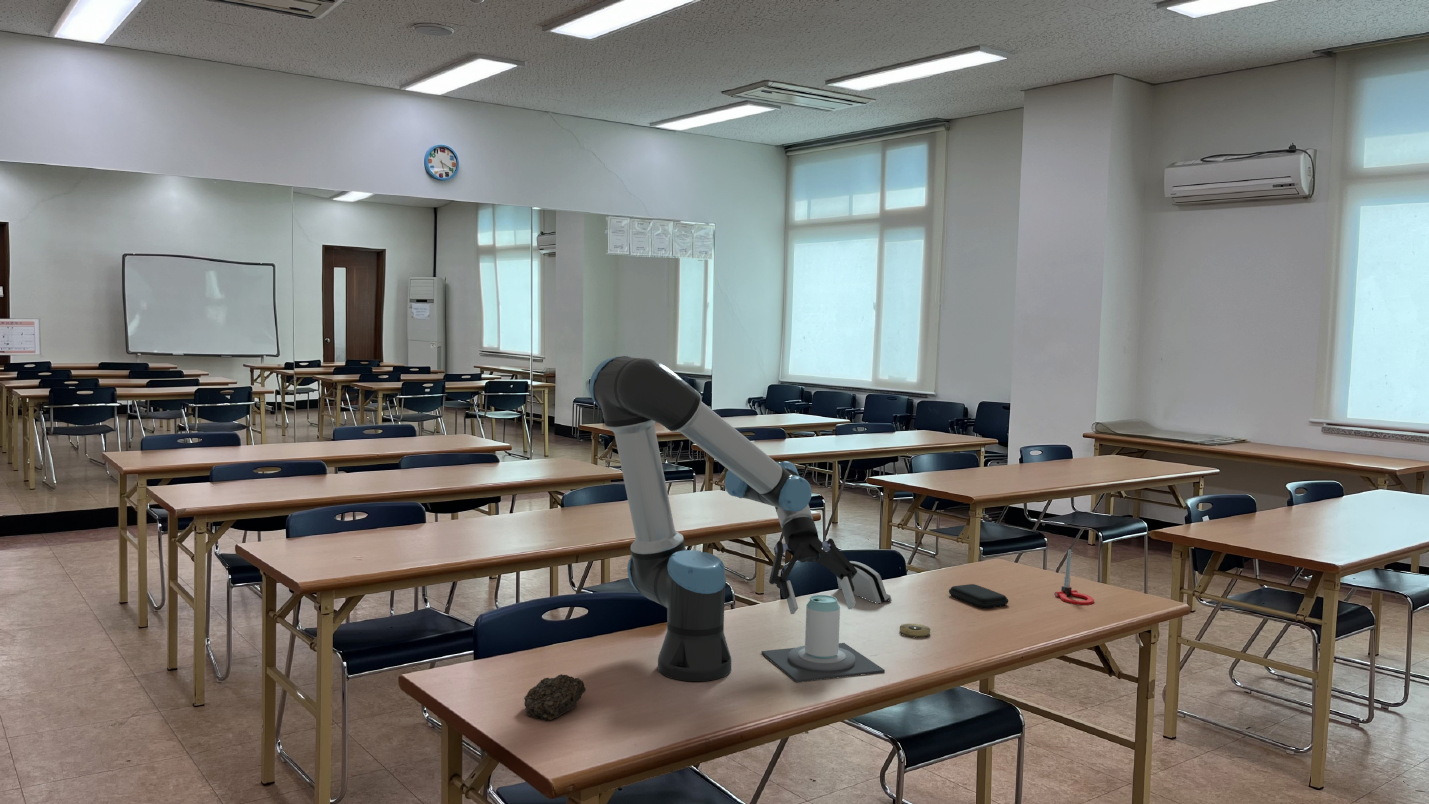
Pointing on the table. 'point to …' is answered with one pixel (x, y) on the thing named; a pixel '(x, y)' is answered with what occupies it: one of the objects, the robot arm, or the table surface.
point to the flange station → (821, 663)
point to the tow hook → (1067, 589)
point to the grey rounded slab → (867, 584)
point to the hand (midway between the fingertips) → (823, 608)
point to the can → (822, 626)
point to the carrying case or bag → (978, 596)
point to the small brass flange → (915, 630)
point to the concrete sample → (553, 697)
